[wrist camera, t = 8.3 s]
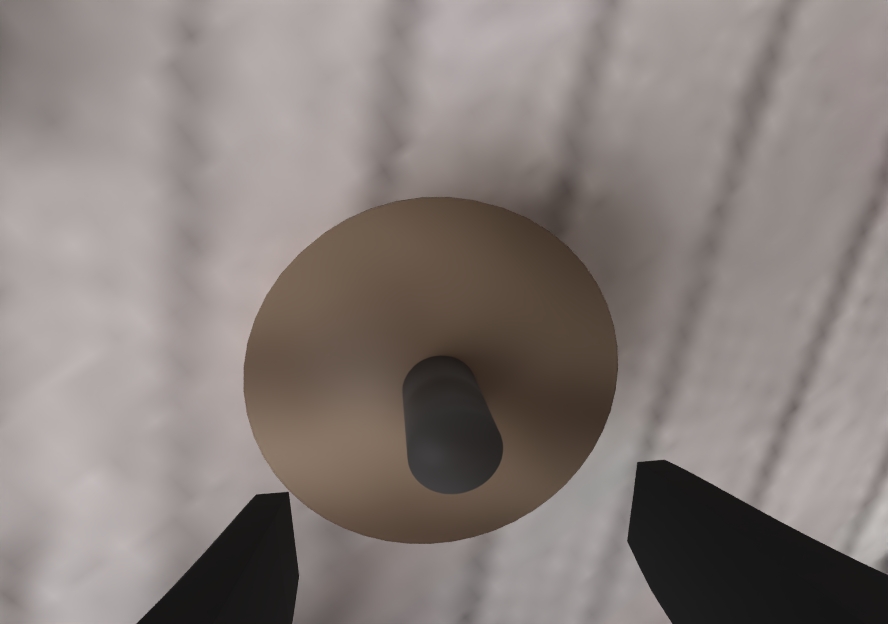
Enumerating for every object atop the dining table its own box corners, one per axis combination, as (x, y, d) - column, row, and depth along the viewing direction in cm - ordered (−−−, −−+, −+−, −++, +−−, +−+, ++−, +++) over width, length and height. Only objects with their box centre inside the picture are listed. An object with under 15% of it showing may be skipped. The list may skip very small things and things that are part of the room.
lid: (581, 520, 18) (639, 622, 14) (261, 534, 16) (219, 654, 12) (633, 207, 14) (731, 218, 10) (238, 185, 13) (169, 188, 9)
